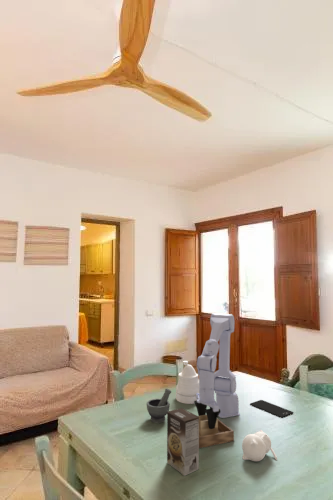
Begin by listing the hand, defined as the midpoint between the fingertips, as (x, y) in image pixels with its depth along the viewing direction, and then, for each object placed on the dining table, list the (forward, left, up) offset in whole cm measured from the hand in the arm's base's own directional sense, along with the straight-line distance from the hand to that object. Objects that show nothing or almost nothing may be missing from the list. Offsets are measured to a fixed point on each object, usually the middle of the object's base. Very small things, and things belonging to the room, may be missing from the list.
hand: (206, 424), depth 124 cm
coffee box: (+17, +15, -4) cm, 23 cm away
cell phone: (-40, -12, -5) cm, 42 cm away
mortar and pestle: (+12, -20, -4) cm, 24 cm away
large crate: (0, 0, -4) cm, 4 cm away
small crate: (0, 0, -4) cm, 4 cm away
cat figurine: (-9, +20, -5) cm, 22 cm away
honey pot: (-10, -37, -4) cm, 39 cm away
